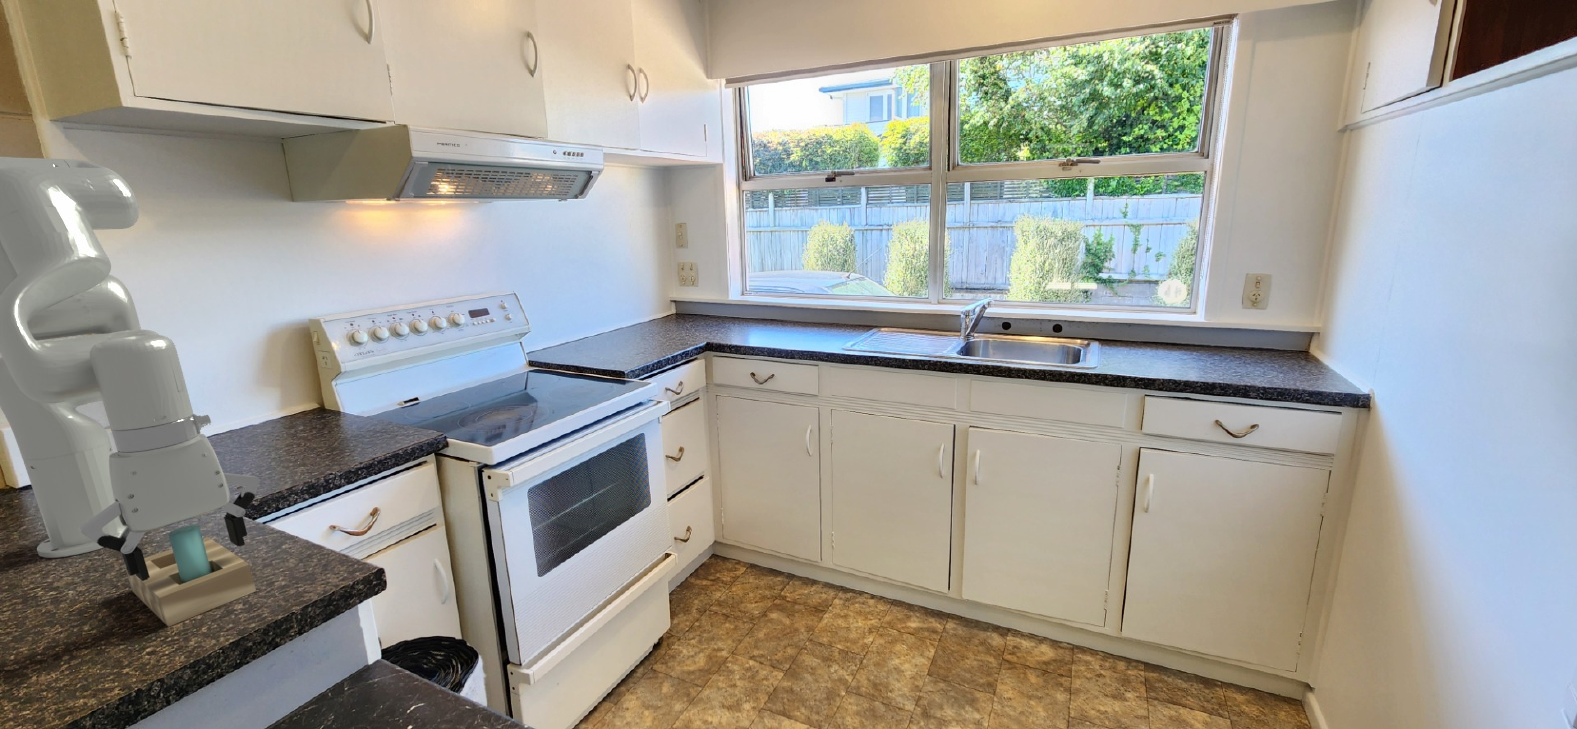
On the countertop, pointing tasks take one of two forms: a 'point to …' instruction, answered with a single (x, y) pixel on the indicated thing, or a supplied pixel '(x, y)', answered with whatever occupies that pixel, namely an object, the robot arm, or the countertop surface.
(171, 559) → the hole block
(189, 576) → the peg
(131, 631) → the countertop surface
